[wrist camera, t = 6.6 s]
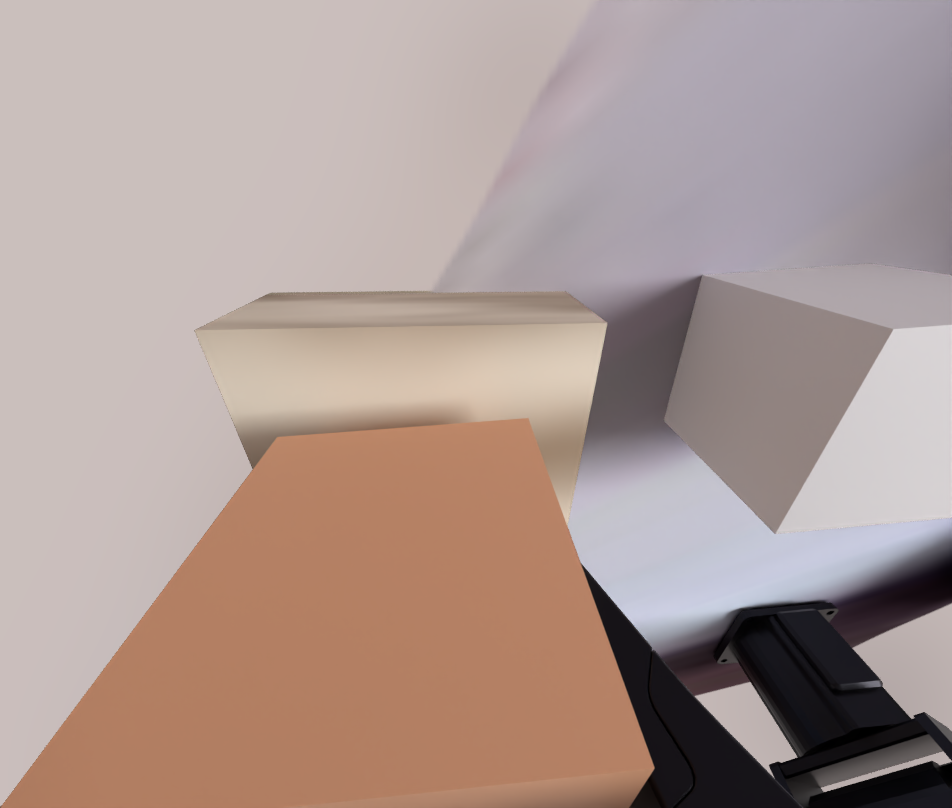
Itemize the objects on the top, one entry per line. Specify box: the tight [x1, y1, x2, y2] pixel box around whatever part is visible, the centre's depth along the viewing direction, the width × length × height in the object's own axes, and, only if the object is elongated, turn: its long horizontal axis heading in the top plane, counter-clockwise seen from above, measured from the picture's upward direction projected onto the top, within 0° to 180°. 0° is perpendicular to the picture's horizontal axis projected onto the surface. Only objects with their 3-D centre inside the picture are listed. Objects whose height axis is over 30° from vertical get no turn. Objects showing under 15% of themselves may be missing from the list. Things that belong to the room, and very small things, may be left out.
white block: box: [664, 263, 952, 534], centre depth 11 cm, size 6×6×6 cm
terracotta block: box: [0, 418, 655, 808], centre depth 7 cm, size 6×6×6 cm
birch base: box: [195, 291, 607, 526], centre depth 13 cm, size 10×10×4 cm
